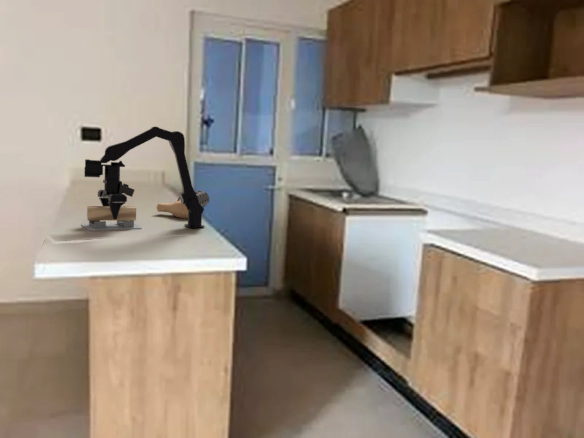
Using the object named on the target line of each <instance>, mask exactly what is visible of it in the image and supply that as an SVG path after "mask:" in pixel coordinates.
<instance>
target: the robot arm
mask: <svg viewBox="0 0 584 438" xmlns="http://www.w3.org/2000/svg"><path fill="white" fill-rule="evenodd" d="M155 138H159V139H163V140H166V141H167V142H168V143H169V147H170V148H171V150H172V152H173V154H174V156H175V157H174V158H175V161H176V167H177V170H178V175H179V179H180V183H181V187H182V189H181V192H178V193H179V197H181V202H182V203H183V204H184V206H186V207H187V209H188V218H187V223H185V224H184V226H185V227H187V228H190V229H196V228H198V229H200V228H205V225H202V222H203V221H202V219H203V213H204V211H205V207H202V206H201V205H200V204H199V200H198V198H197V195H196V193H195V192H196V191H195V189H194V187H193V184H192V179H191V176H190V170H189V167H188V161H187V158H186V155H185V151H186V149H185V148H186V141H185V135H184V133H182V132H181V131H177V130H175V131H171V130H170V131H169V130H167V129H165V128H164V129H163V128H160V127H158V126H152V127H150V128H149V129H147V130H145V131H144V132H141V133H139V134H137V135H135V136H133V137H131V138H130V139H126V140H125V141H122V142H118V143H115V144H111V145H108V146H107V147H106V148H105V149H104V155H103V156H102V157H100V159H99V160H97V159H88V158H87V159H85V160H84V164H85V165H84V178H100V177H101V176H103V175H104V179H103V181H102V183H104V185H103V186H104V187H103V188H104V189H99V190H98V191H97V197H98V199H99V201H100V204H101V206H109V207H110V210H111V213H112V216H113V219H117V216H118V213H119V210H120V207H121V206H123V205H124V204H126V202H128V196H129V197H133V195H134V193H135V189H134V188H131V187H130V186H129V184H127V183H123V181H121V168H125V167H126V165H125V164H124V163H123V161H122V160H119V159H120V158H122V157H124V156H125V155H126V154H127V153H129V151H131V150H133V149H135V148H136V147H139V146H141V145H142V144H145V143H146V142H148V141H151V140H153V139H155ZM118 160H119V161H118ZM110 161H111V162H110ZM116 161H118V162H116ZM109 162H110V164H107V163H109Z"/></svg>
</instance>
